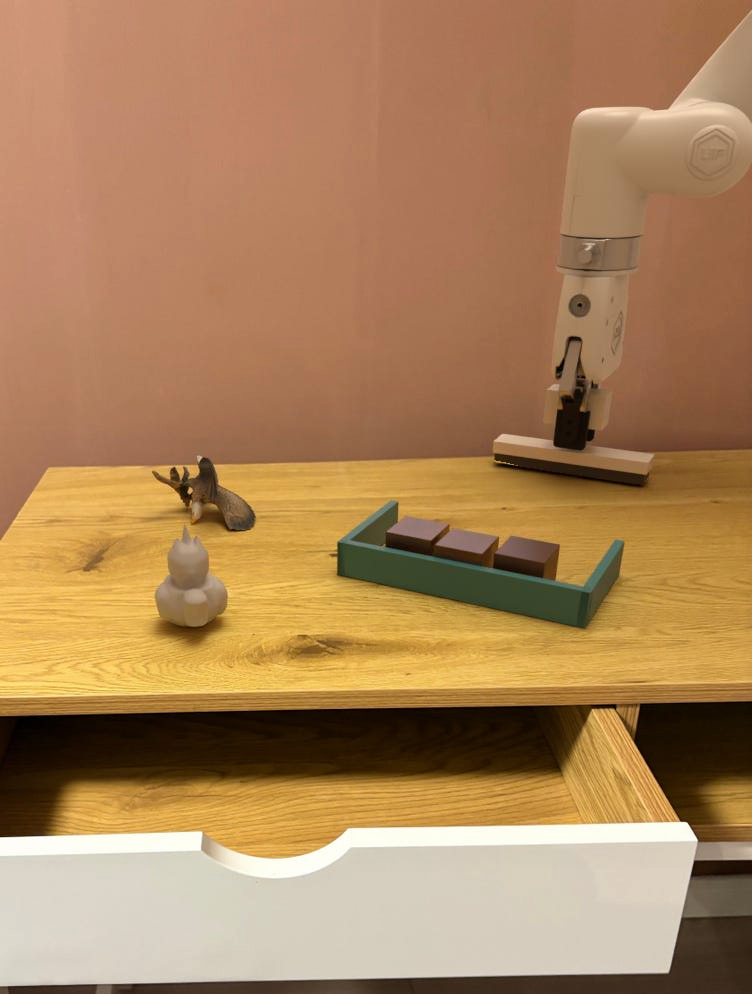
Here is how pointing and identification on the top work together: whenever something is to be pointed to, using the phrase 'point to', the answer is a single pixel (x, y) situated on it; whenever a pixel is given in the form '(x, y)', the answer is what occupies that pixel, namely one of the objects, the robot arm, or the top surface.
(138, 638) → the top surface
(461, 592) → the corral
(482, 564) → the block
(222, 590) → the grey rounded lumpy piece
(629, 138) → the robot arm
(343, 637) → the top surface
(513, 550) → the block
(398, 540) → the block
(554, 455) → the brush
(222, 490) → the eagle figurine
